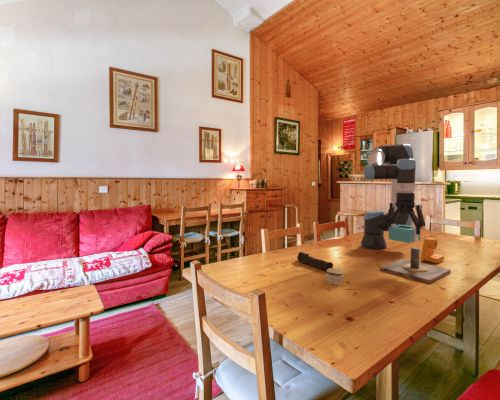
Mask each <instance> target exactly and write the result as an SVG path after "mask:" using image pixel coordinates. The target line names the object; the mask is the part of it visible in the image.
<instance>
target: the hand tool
mask: <svg viewBox="0 0 500 400" xmlns="http://www.w3.org/2000/svg"><path fill="white" fill-rule="evenodd" d="M297 261H298V262H299V263H300V264H304V265H310V266H313V267H315V268H318V269H321V270H322V271H323V270H324V271H325V272H326V273H327V270H328V269H329V268H334V263H333V262H330V261H325V260H323V259H318V258H316V257H313V256H310V254H308V253H306V252H303V251H299V252H298V253H297Z"/></svg>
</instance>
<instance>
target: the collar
mask: <svg viewBox="0 0 500 400" xmlns="http://www.w3.org/2000/svg"><path fill="white" fill-rule="evenodd" d="M414 227H415V225H414V226H412V225H411V226H406V225H396V226H391V227H389V231H388V240H391V241H396V242H401V243H406V244H411V243H415V242H414V241H413V238H414ZM421 228H422V227H421ZM421 228H420V234H419V235H418V241H421V232H422V231H421Z"/></svg>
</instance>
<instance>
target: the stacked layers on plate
mask: <svg viewBox="0 0 500 400" xmlns="http://www.w3.org/2000/svg"><path fill="white" fill-rule="evenodd" d="M343 273H344V271H343V270H340V269H338V268H334V267H333V268H329V269H328V270H327V272H326V276H327V277H326V280H327V282H326V283H327V284H329V285H335V286H341V285H343V281H344V278H343V276H344V274H343Z"/></svg>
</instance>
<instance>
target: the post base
mask: <svg viewBox="0 0 500 400" xmlns="http://www.w3.org/2000/svg"><path fill="white" fill-rule="evenodd" d="M420 252H421V251H420V248H416V247H411V248H410V260H409V259H405V258H401V259H398V260H395V261H391V262H390V263H387V264H385V265H382V266H379V271H382V272H386V273H389V274H393V275H396V276H399V277H403V278H409V279H411V280H415V279H416V280H415V281H418V280H419V282H422V281H423V283H426V284H432V283H433V282H436V281H439V280H440V279H441V278H443V277H445V276H447V275H449V274H452V273H451V269H450V268H445V267H440V266H436V265H432V264H428V263H423V262H420V256H421V254H420Z"/></svg>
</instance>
